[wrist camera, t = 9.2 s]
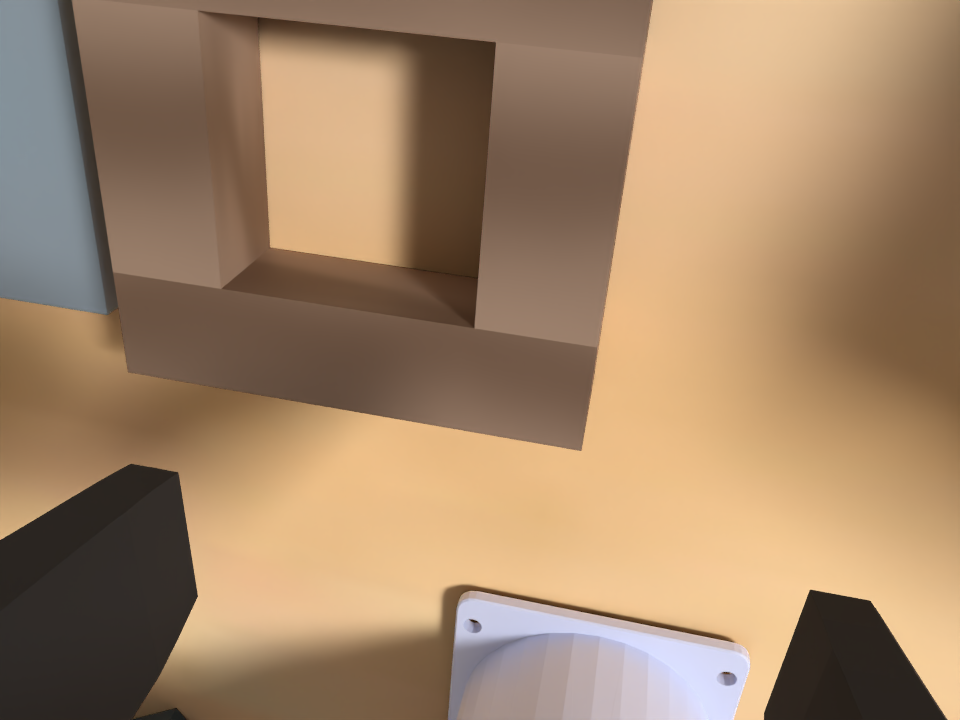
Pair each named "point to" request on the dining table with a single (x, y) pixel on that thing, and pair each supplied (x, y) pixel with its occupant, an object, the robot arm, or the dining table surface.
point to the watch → (164, 716)
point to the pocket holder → (349, 283)
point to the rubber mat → (49, 165)
